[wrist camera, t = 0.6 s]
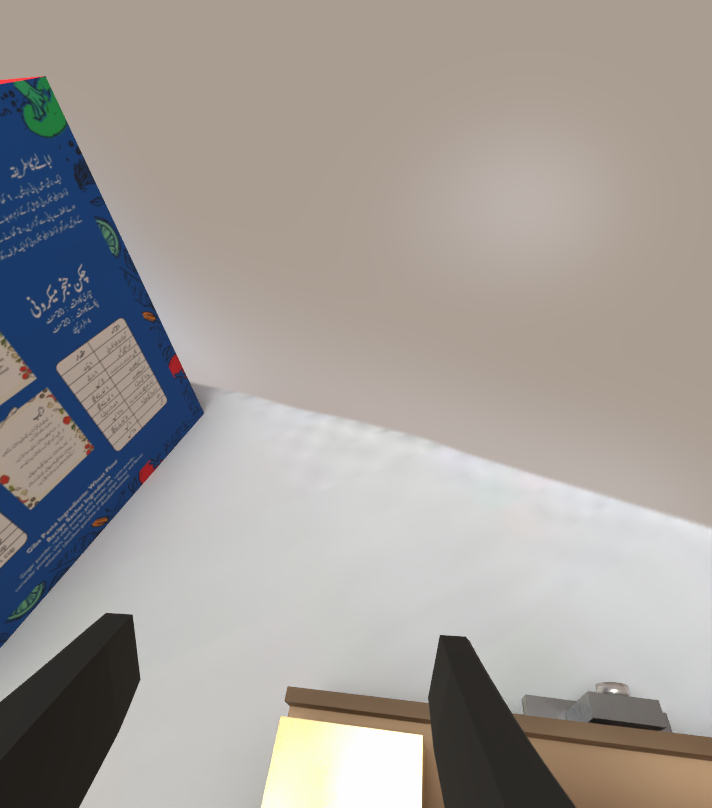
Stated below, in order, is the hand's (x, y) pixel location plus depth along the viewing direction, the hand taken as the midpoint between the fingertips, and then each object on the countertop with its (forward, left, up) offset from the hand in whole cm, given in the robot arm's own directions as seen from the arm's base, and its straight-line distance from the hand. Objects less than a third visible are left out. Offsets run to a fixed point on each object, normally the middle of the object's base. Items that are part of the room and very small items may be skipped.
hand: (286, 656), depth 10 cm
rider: (-2, -1, -14) cm, 14 cm away
